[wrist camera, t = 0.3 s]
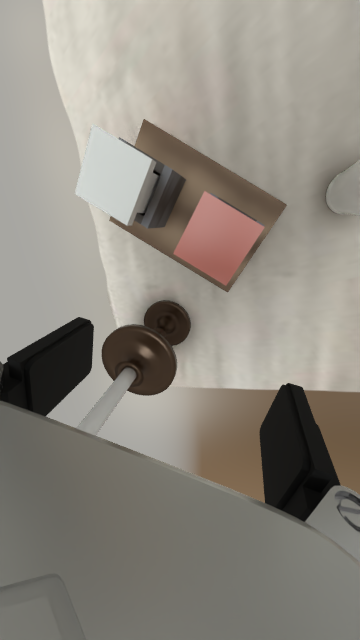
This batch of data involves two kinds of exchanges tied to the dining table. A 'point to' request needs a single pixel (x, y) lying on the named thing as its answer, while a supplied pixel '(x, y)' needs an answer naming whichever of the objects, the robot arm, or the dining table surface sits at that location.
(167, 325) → the candlestick
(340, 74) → the dining table surface
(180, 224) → the board
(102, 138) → the grey plunger
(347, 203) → the drinking glass
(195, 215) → the red plunger
